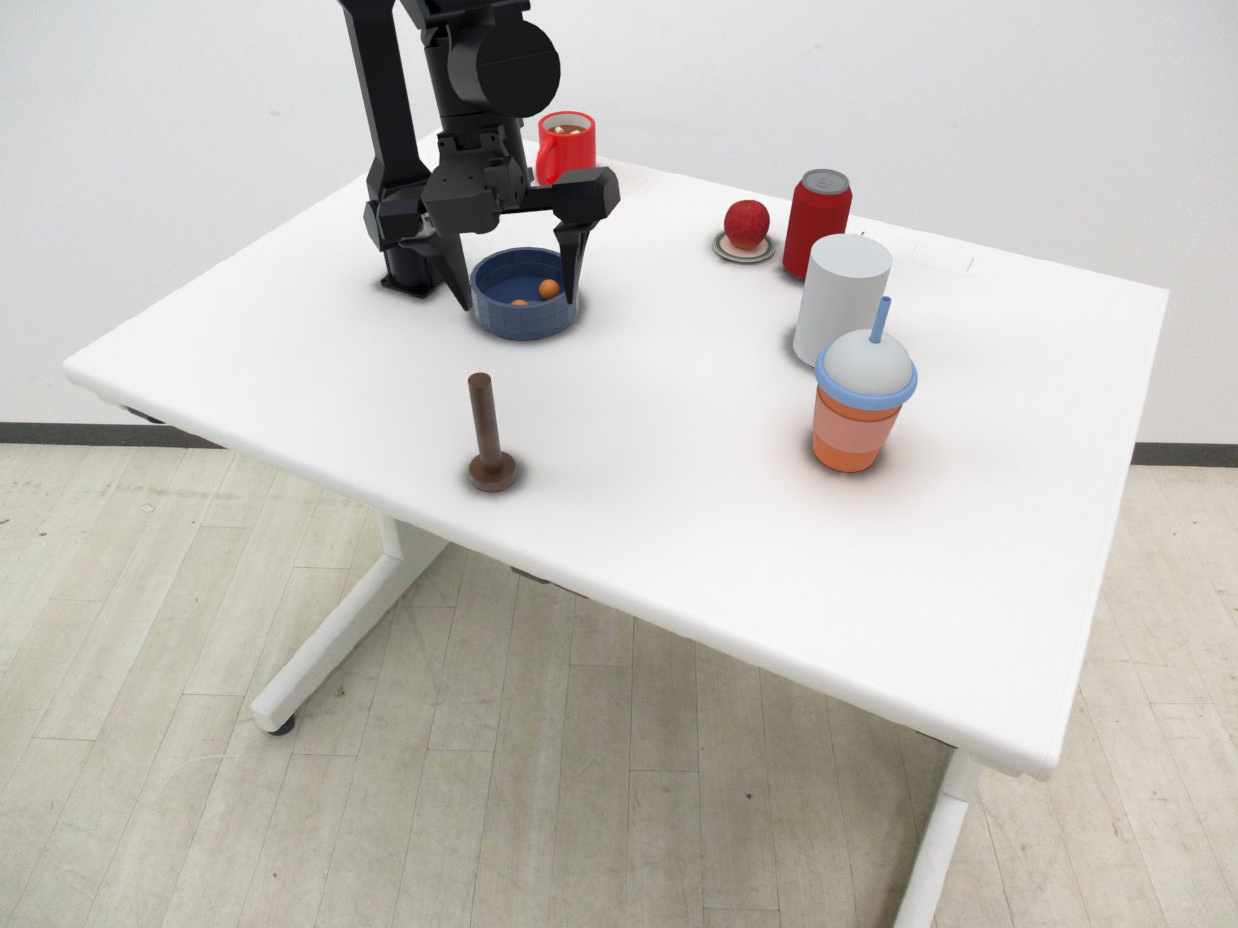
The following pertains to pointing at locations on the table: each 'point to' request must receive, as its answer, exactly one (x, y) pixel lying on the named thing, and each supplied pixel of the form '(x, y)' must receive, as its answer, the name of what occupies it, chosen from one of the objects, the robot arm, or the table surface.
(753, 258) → the apple
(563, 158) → the mug
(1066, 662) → the table surface
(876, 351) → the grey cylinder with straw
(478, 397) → the muddler
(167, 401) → the table surface
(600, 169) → the robot arm
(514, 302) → the bead
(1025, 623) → the table surface
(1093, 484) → the table surface
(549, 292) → the bead
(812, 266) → the grey cylinder
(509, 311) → the bowl
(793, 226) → the beverage can
